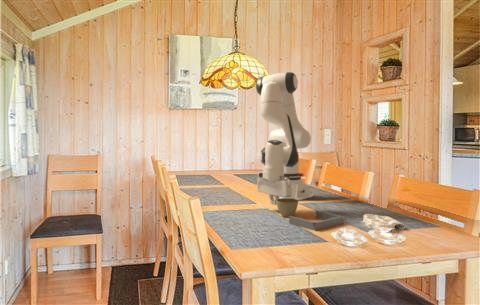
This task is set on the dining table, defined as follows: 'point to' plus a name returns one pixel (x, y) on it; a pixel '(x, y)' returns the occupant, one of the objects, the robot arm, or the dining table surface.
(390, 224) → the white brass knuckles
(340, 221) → the frame
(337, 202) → the dining table surface
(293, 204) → the flower pot
